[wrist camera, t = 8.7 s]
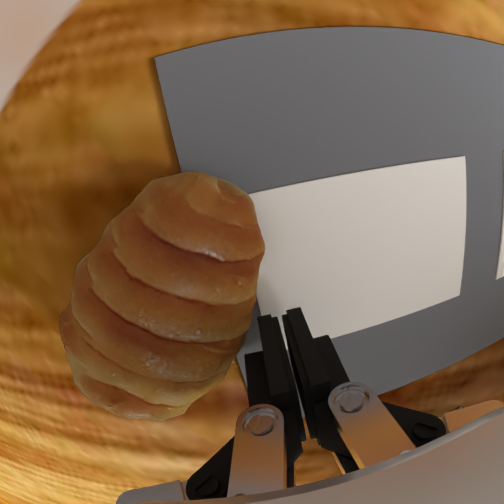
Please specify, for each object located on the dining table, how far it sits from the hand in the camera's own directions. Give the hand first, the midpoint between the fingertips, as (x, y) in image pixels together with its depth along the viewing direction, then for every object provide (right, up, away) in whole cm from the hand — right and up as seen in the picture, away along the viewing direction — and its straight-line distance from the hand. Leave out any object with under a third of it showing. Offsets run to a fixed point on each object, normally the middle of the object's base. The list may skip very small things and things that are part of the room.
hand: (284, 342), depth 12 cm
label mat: (+10, +5, +1) cm, 11 cm away
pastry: (-5, +2, 0) cm, 5 cm away
